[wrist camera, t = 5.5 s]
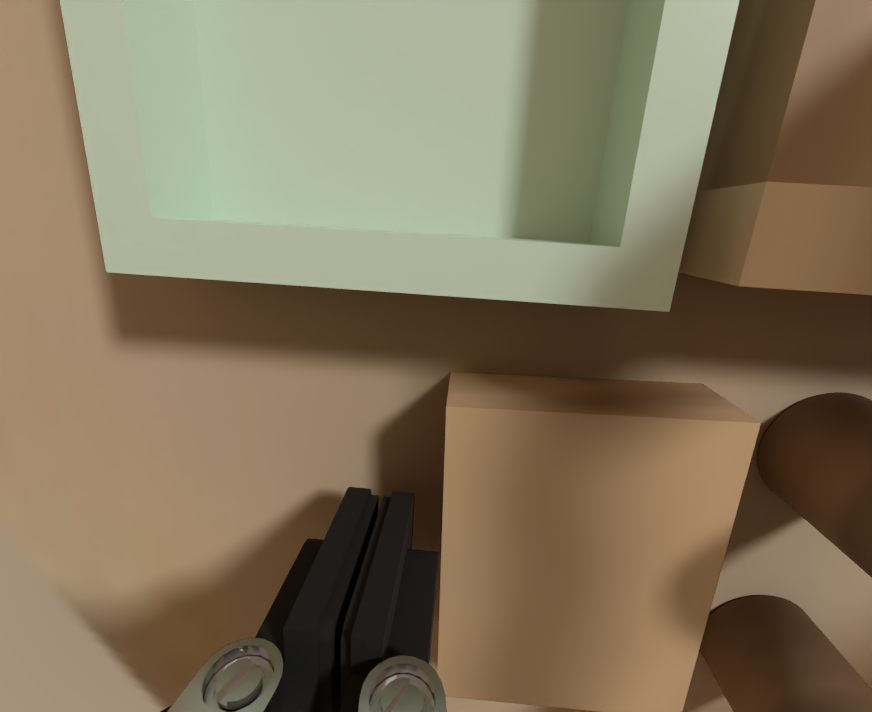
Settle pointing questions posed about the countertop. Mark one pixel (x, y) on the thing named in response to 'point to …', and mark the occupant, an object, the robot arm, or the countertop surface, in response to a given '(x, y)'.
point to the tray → (401, 141)
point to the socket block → (789, 153)
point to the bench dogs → (841, 524)
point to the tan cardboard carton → (583, 537)
